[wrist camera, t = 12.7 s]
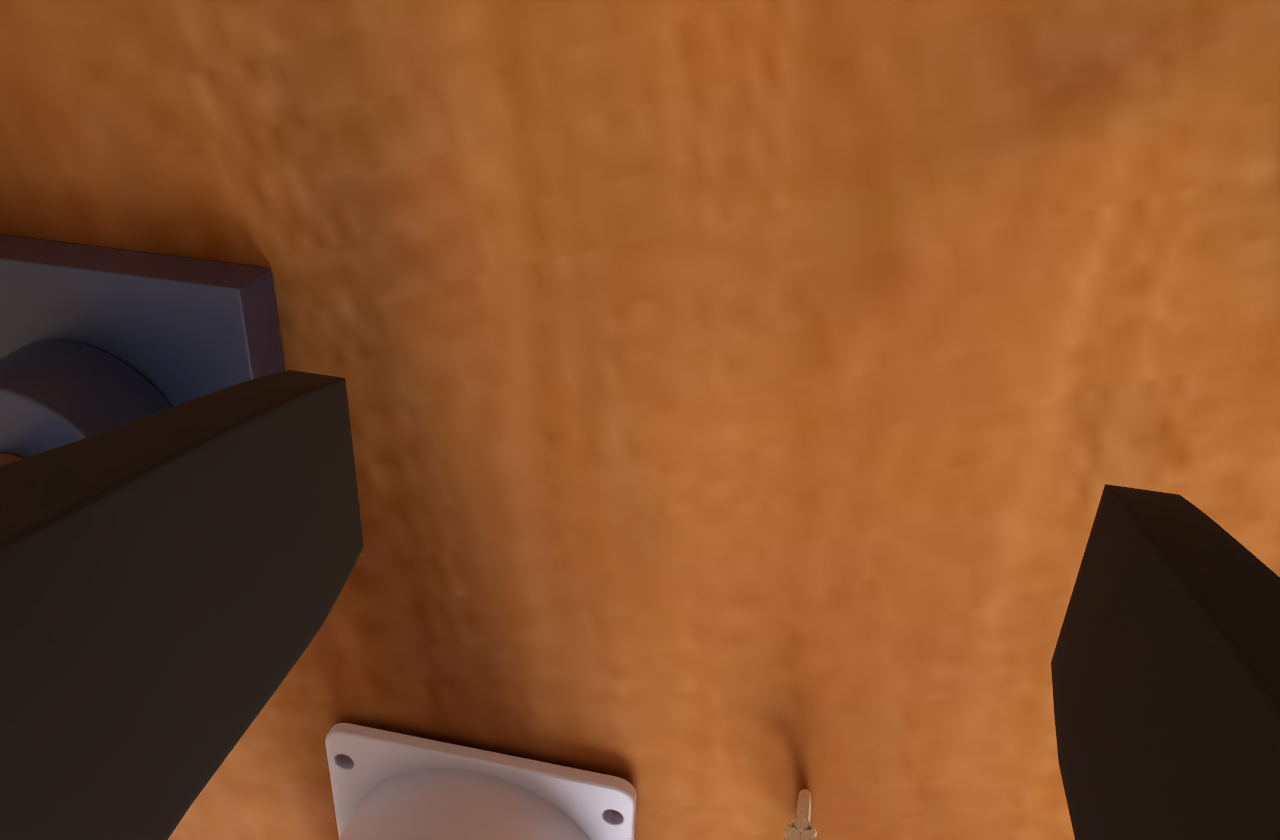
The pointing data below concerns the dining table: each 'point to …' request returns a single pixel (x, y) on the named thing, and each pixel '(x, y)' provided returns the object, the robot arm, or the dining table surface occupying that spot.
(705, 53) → the dining table surface
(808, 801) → the ring
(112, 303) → the ring post
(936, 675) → the dining table surface
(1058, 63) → the dining table surface
